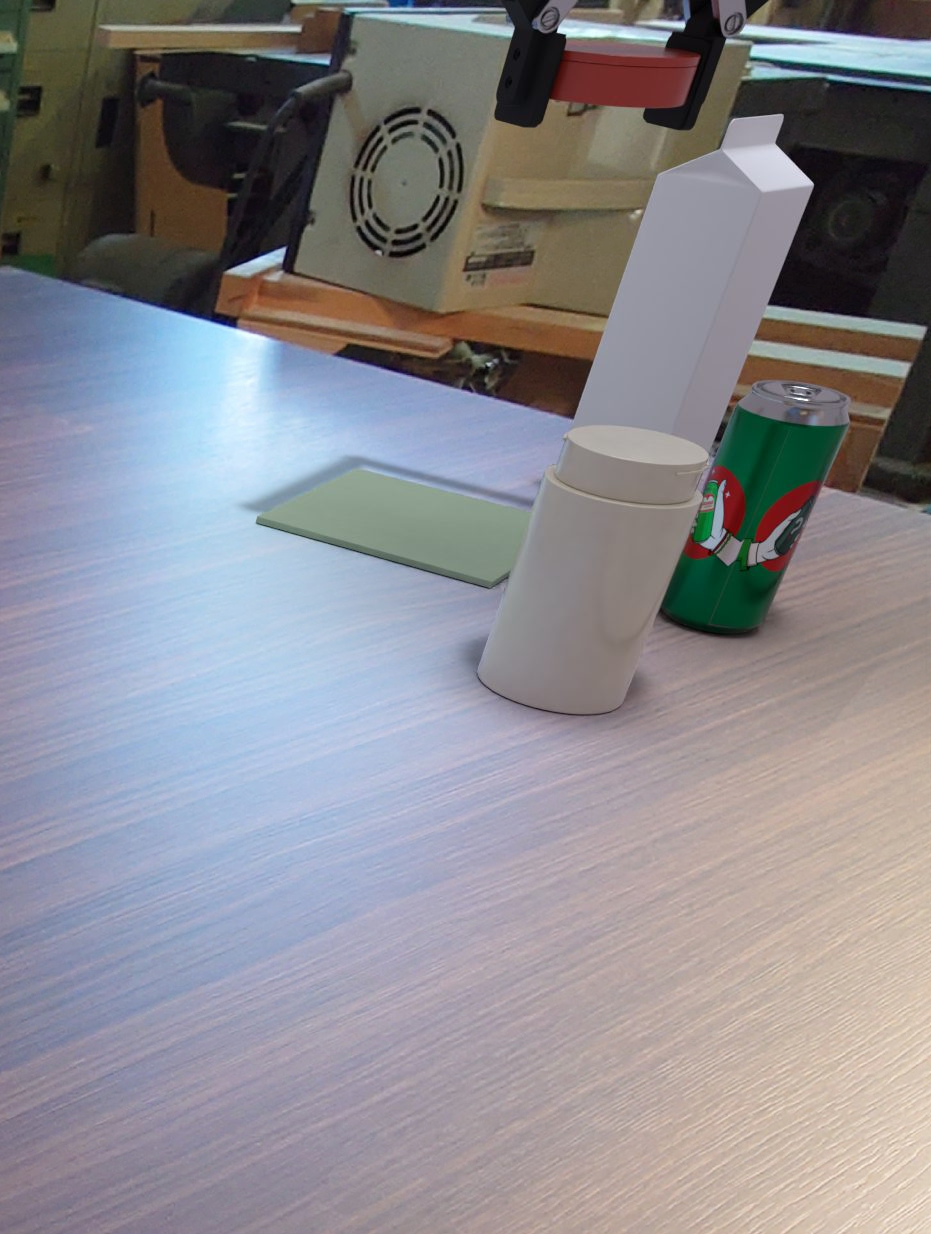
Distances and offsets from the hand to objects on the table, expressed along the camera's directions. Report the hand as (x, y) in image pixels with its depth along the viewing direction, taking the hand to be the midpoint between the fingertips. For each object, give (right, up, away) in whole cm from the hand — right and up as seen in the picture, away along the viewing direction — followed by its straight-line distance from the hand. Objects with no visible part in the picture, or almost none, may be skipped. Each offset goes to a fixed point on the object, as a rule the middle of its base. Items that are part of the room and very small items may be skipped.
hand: (592, 122), depth 83 cm
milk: (+15, -13, +23) cm, 30 cm away
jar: (-2, -28, 0) cm, 28 cm away
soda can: (+10, -23, +8) cm, 26 cm away
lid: (0, +2, -2) cm, 3 cm away
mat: (0, -15, +18) cm, 24 cm away
